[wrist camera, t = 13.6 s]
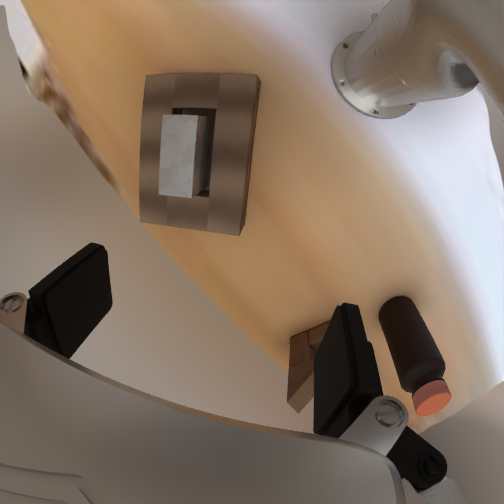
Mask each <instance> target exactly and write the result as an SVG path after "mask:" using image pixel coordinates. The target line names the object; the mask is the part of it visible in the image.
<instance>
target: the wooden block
mask: <svg viewBox="0 0 504 504" xmlns="http://www.w3.org/2000/svg"><path fill="white" fill-rule="evenodd" d="M329 323H330V321H329V322H327V323H324V324H322V325H320V326H318V327H315V328H313V329H311V330H309V332H308V331H305V332H303V333H301V334H298V335H296V336H293V337H291V338H290V358H289V373H288V392H287V403H288V404H289V405H290V406H291V407H292V408H293V409H294V410H295V411H296V412H297V413H300V411H301V410H302V409H303V408H304V407H305V406H306V405H307V404H308V402H309V401H310V400H311V399H312V398H313V397H314V358H315V355H316V352H317V350H318V348H319V346H320V344H321V341H322V339H323V337H324V335H325V332H326V330H327V328H328V326H329Z"/></svg>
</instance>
